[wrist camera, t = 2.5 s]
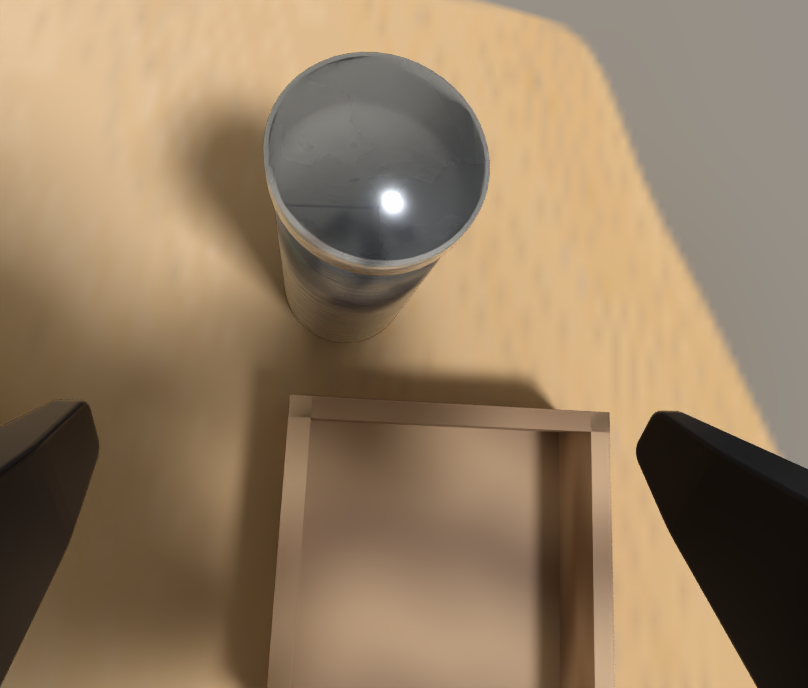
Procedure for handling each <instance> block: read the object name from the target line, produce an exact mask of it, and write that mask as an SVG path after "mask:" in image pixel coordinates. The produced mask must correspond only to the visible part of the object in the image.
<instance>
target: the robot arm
mask: <svg viewBox="0 0 808 688" xmlns="http://www.w3.org/2000/svg"><path fill="white" fill-rule="evenodd" d="M98 453H99V440H98V436H97V432H96V428H95V424H94V420H93V417H92V413H91V409H90V406H89V404H88V403H87V402H85V401H84V400H62V399H59V400H55V401H52V402H50V403H48V404H46V405H44V406H42V407H40V408H38V409H36V410H34V411H32V412H30V413H28V414H25V415H23V416H21V417H19V418H17V419H15V420H13V421H11V422H9V423H7V424H5V425H3V426H1V427H0V686H1V684H2V682H3V680H4V678H5V676H6V674H7V672H8V670H9V668H10V666H11V664H12V662H13V659H14V657H15V655H16V653H17V651H18V649H19V647H20V645H21V643H22V641H23V639H24V637H25V634H26V632H27V630H28V628H29V626H30V624H31V622H32V620H33V618H34V616H35V614H36V612H37V610H38V607H39V605H40V603H41V601H42V599H43V597H44V595H45V593H46V591H47V589H48V587H49V585H50V583H51V580H52V578H53V576H54V574H55V572H56V570H57V568H58V566H59V564H60V562H61V560H62V558H63V555H64V553H65V551H66V549H67V546H68V544H69V542H70V539H71V536H72V533H73V531H74V528H75V525H76V522H77V519H78V516H79V513H80V510H81V507H82V504H83V501H84V498H85V495H86V492H87V489H88V486H89V483H90V480H91V477H92V474H93V471H94V468H95V465H96V462H97V458H98ZM636 456H637V460H638V463H639V465H640V467H641V470H642V472H643V474H644V476H645V479H646V481H647V483H648V486H649V488H650V490H651V492H652V495H653V497H654V499H655V502H656V504H657V506H658V508H659V511H660V513H661V515H662V518H663V520H664V522H665V524H666V526H667V528H668V530H669V532H670V534H671V536H672V538H673V540H674V542H675V543H676V545H677V547H678V549H679V551H680V552H681V554H682V556H683V558H684V559H685V561H686V563H687V565H688V566H689V568H690V570H691V572H692V573H693V575H694V577H695V579H696V581H697V582H698V584H699V586H700V588H701V589H702V591H703V593H704V595H705V596H706V598H707V600H708V602H709V603H710V605H711V607H712V609H713V611H714V612H715V614H716V616H717V618H718V619H719V621H720V623H721V625H722V626H723V628H724V630H725V632H726V633H727V635H728V637H729V639H730V641H731V642H732V644H733V646H734V648H735V649H736V651H737V653H738V655H739V656H740V658H741V660H742V662H743V664H744V665H745V667H746V669H747V671H748V672H749V674H750V676H751V678H752V679H753V681H754V683H755V685H756V686H757V688H808V469H806V468H804V467H802V466H800V465H798V464H795V463H793V462H791V461H788V460H786V459H784V458H782V457H780V456H778V455H775V454H773V453H771V452H769V451H766V450H764V449H762V448H760V447H758V446H755V445H753V444H751V443H749V442H747V441H744V440H742V439H740V438H738V437H735V436H733V435H731V434H729V433H727V432H724V431H722V430H720V429H718V428H715V427H713V426H711V425H709V424H707V423H704V422H702V421H700V420H698V419H696V418H693V417H691V416H689V415H687V414H684V413H682V412H679V411H657V412H655V413H654V414H653V415H652V417H651V418H650V420H649V422H648V424H647V426H646V428H645V430H644V432H643V433H642V435H641V437H640V439H639V441H638V443H637V447H636Z"/></svg>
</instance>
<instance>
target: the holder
mask: <svg viewBox="0 0 808 688" xmlns="http://www.w3.org/2000/svg"><path fill="white" fill-rule="evenodd" d="M267 688H615V659H614V611H613V563H612V515H611V466H610V418H609V412H592V411H574V410H556V409H539V408H521V407H503V406H485V405H467V404H450V403H432V402H414V401H396V400H379V399H361V398H343V397H325V396H307V395H290V401H289V413H288V426H287V439H286V451H285V464H284V477H283V489H282V502H281V515H280V528H279V540H278V553H277V566H276V578H275V591H274V604H273V616H272V629H271V642H270V654H269V667H268V680H267Z"/></svg>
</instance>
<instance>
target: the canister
mask: <svg viewBox="0 0 808 688" xmlns="http://www.w3.org/2000/svg"><path fill="white" fill-rule="evenodd" d="M263 155H264V166H265V173H266V180H267V185H268V190H269V194H270V197H271V200H272V203H273V205H274V208H275V215H276V223H277V230H278V238H279V246H280V254H281V262H282V270H283V278H284V285H285V292H286V297H287V300H288V303H289V306H290V308H291V310H292V312H293V314H294V315H295V316H296V318H297V319H298V320H299V321H300V323H301V324H302V325H303V326H304V327H306V328H307V329H308V330H309V331H311V332H312V333H314V334H316V335H317V336H320V337H322V338H324V339H327V340H330V341H335V342H345V343H349V342H357V341H362V340H365V339H368V338H371V337H373V336H375V335H376V334H378V333H379V332H381V331H382V330H384V329H385V328H386V327H387V326H388V325H389V324H390V323H391V322H392V320H393V319H394V318H395V317H396V315H397V314H398V313H399V311H400V310H401V309H402V307H403V306H404V305H405V303H406V302H407V301H408V300H409V298H410V297H411V296H412V294H413V293H414V292H415V290H416V289H417V288H418V286H419V285H420V284H421V282H422V281H423V280H424V279H425V277H426V276H427V275H428V273H429V272H430V271H431V269H432V268H433V267H434V265H435V264H436V263H437V261H438V260H439V259H440V257H442V256H443V255H444V254H446V253H447V252H448V251H449V250H450V249H451V248H452V247H453V246H454V245H455V244H456V243H457V242H458V240H459V239H460V238H461V237H462V236H463V234H464V233H465V232H466V231H467V229H468V228H469V227H470V225H471V224H472V223H473V221H474V220H475V218H476V216H477V215H478V213H479V211H480V209H481V207H482V204H483V202H484V199H485V196H486V192H487V189H488V182H489V175H490V160H489V153H488V146H487V143H486V139H485V135H484V133H483V130H482V128H481V125H480V123H479V121H478V119H477V117H476V115H475V114H474V112H473V110H472V108H471V107H470V106H469V104H468V103H467V102H466V100H465V99H464V98H463V96H462V95H461V94H460V93H459V92H458V91H457V90H456V89H455V88H454V87H453V86H452V85H451V84H450V83H448V82H447V81H446V80H445V79H444V78H442V77H441V76H439V75H438V74H436V73H435V72H434V71H432V70H430V69H428V68H427V67H425V66H423V65H421V64H419V63H417V62H414V61H411V60H409V59H406V58H403V57H399V56H395V55H392V54H385V53H378V52H357V53H347V54H343V55H339V56H334V57H332V58H329V59H326V60H323V61H321V62H319V63H317V64H315V65H313V66H311V67H309V68H308V69H306V70H305V71H304V72H302V73H301V74H299V75H298V76H297V77H296V78H295V79H294V80H293V81H292V82H291V83H290V84H289V85H288V86H287V87H286V88H285V89H284V91H283V92H282V93H281V94H280V96H279V97H278V99H277V101H276V103H275V104H274V106H273V108H272V110H271V113H270V115H269V118H268V121H267V124H266V129H265V134H264V144H263Z"/></svg>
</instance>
